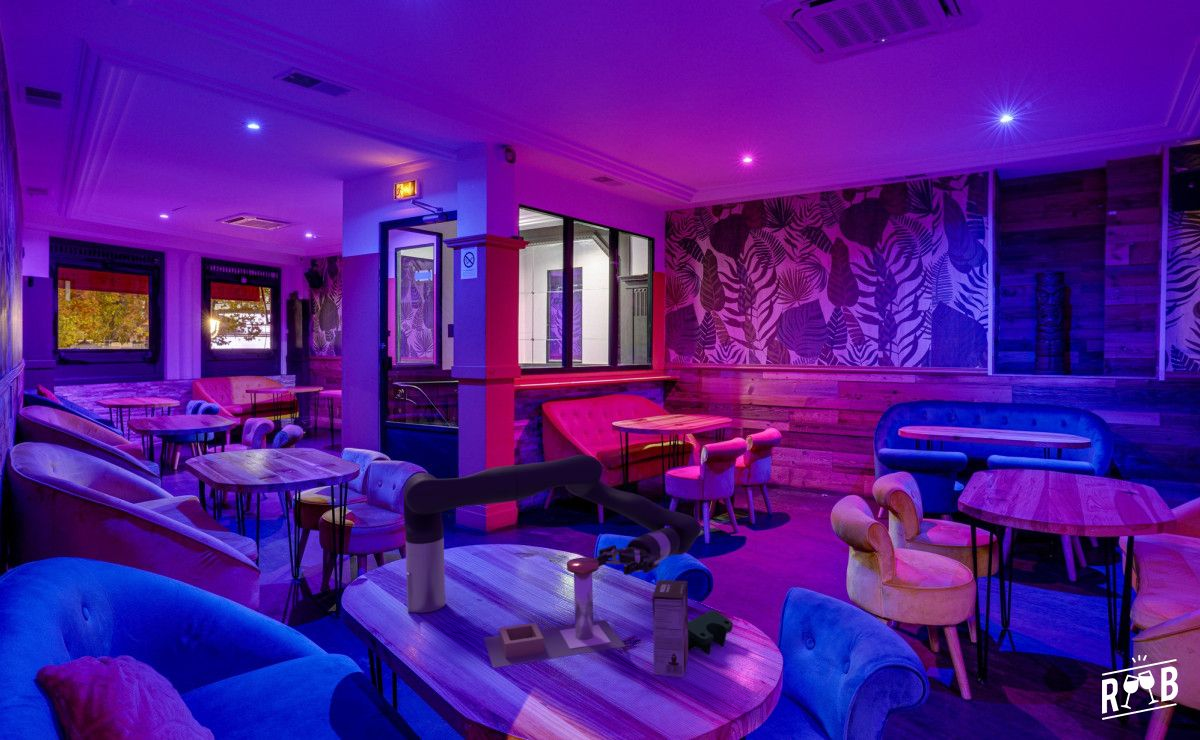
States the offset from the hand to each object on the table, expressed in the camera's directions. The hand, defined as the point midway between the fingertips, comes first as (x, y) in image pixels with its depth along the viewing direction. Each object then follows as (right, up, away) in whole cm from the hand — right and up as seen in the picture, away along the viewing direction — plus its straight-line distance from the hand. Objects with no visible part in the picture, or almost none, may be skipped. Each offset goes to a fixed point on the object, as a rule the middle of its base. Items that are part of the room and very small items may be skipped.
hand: (610, 566), depth 151 cm
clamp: (+21, -14, -10) cm, 27 cm away
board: (-12, -15, -10) cm, 22 cm away
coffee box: (+12, -15, -18) cm, 26 cm away
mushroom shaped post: (-6, -13, -8) cm, 16 cm away
